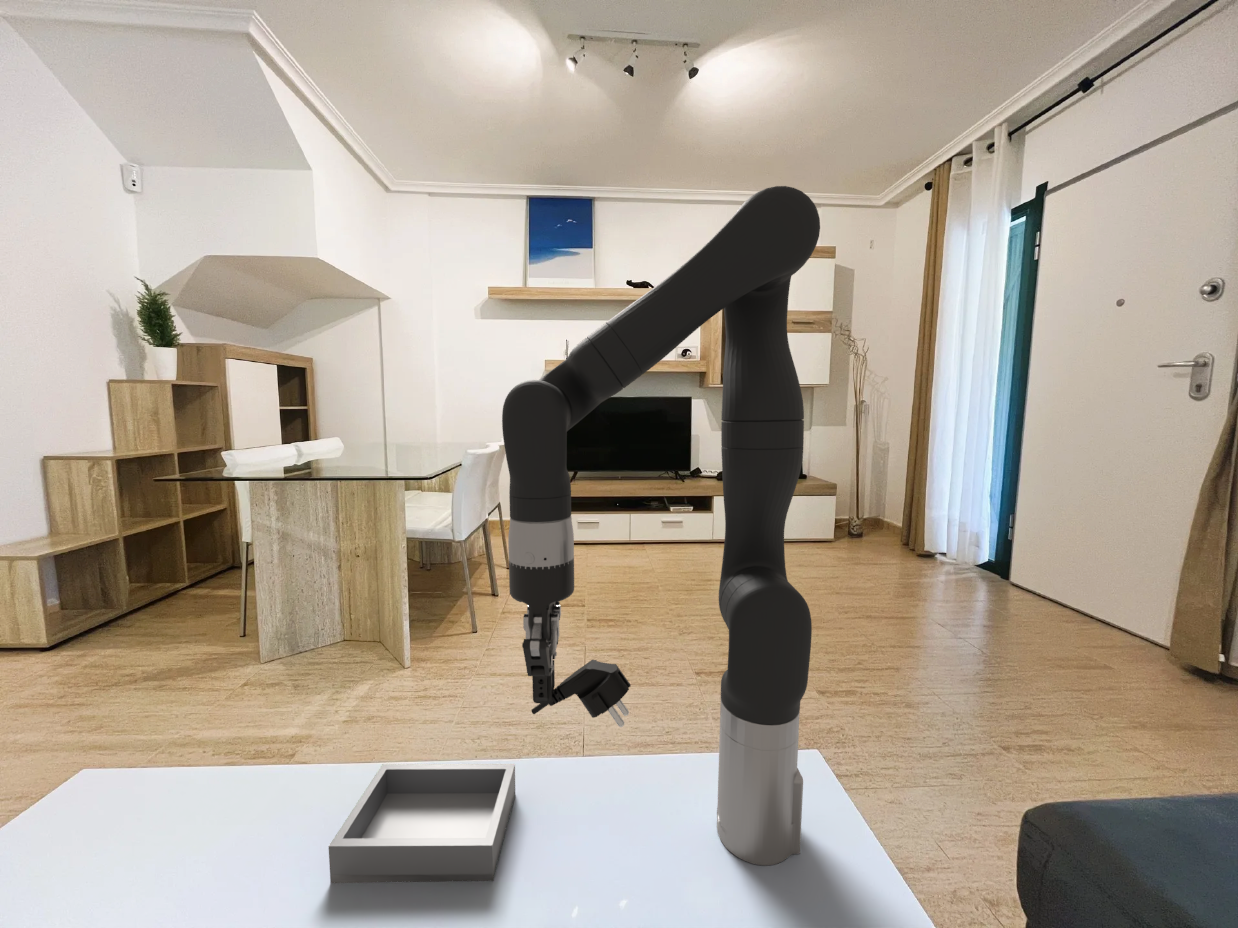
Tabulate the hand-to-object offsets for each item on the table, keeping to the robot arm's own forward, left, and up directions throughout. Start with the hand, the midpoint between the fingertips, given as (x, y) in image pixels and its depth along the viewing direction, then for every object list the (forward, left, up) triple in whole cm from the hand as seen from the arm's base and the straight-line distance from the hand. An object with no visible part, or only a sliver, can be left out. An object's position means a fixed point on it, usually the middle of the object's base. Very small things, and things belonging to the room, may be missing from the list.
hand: (544, 695), depth 60 cm
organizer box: (+14, 0, -19) cm, 23 cm away
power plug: (0, 0, -5) cm, 5 cm away
